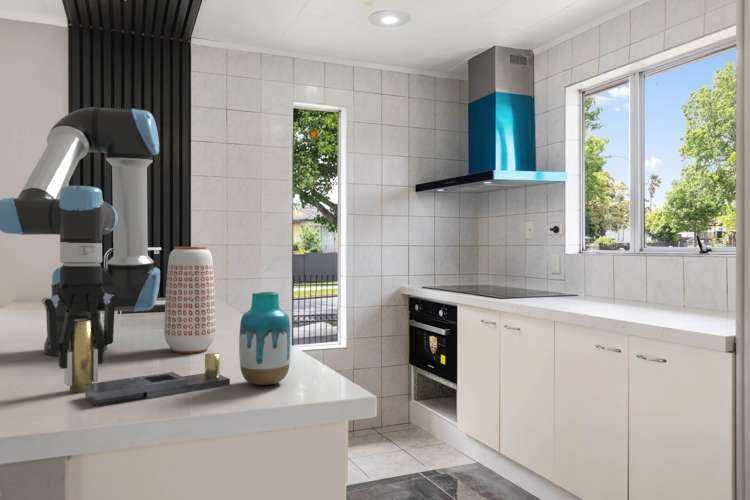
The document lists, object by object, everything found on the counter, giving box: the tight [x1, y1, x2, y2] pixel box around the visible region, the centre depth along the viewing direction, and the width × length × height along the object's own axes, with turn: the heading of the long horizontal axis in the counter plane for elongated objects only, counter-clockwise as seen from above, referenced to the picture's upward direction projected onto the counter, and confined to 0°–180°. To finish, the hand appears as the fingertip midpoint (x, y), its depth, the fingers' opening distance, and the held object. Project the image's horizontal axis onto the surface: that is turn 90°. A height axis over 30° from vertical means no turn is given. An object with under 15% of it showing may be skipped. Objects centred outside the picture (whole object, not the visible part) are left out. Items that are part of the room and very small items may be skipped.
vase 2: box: [238, 291, 292, 386], centre depth 121 cm, size 11×11×19 cm
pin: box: [69, 319, 93, 394], centre depth 115 cm, size 4×4×14 cm
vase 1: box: [163, 246, 217, 354], centre depth 157 cm, size 13×13×28 cm
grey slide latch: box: [84, 352, 231, 407], centre depth 115 cm, size 8×26×6 cm, turn 131°
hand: (81, 382), depth 115 cm, fingers closed on pin, 4 cm apart
